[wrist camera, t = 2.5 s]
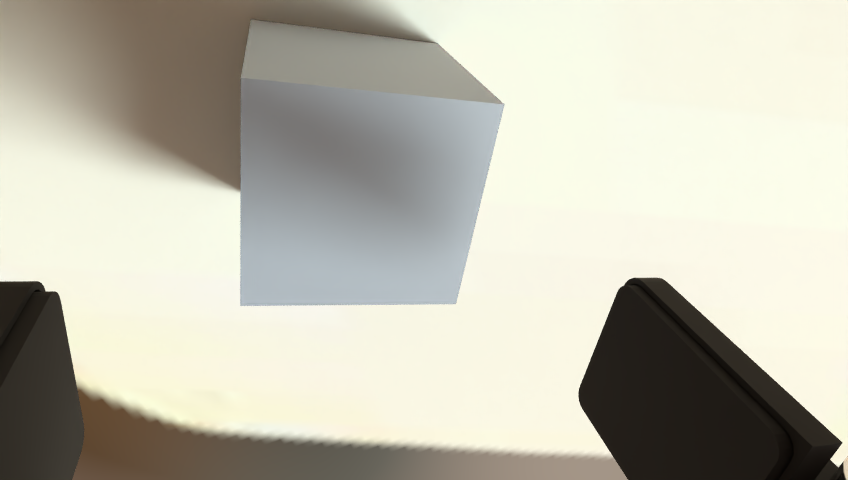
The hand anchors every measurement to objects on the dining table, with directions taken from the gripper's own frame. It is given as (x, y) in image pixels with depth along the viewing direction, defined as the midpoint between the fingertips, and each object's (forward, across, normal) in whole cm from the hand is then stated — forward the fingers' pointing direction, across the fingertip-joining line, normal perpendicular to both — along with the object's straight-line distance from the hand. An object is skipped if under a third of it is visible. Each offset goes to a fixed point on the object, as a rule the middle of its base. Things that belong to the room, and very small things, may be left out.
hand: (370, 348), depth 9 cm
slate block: (+10, -1, -1) cm, 10 cm away
